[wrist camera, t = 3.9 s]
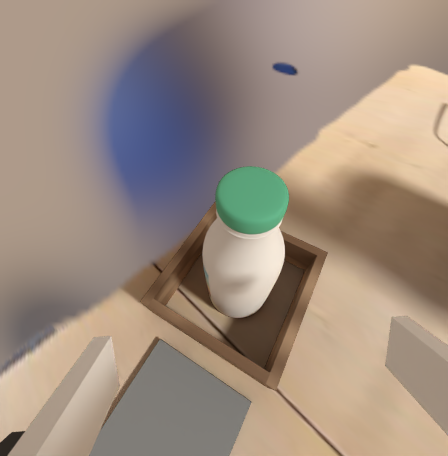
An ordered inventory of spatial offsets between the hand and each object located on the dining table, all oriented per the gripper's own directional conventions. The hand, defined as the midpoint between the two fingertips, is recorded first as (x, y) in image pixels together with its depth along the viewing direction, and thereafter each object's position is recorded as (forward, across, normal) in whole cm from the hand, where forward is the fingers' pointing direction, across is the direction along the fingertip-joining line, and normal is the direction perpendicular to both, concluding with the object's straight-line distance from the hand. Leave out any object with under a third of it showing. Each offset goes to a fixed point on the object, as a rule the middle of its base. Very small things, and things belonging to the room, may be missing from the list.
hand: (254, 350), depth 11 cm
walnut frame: (+19, +1, -7) cm, 20 cm away
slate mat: (+10, -7, -17) cm, 21 cm away
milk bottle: (+19, +1, -7) cm, 21 cm away
